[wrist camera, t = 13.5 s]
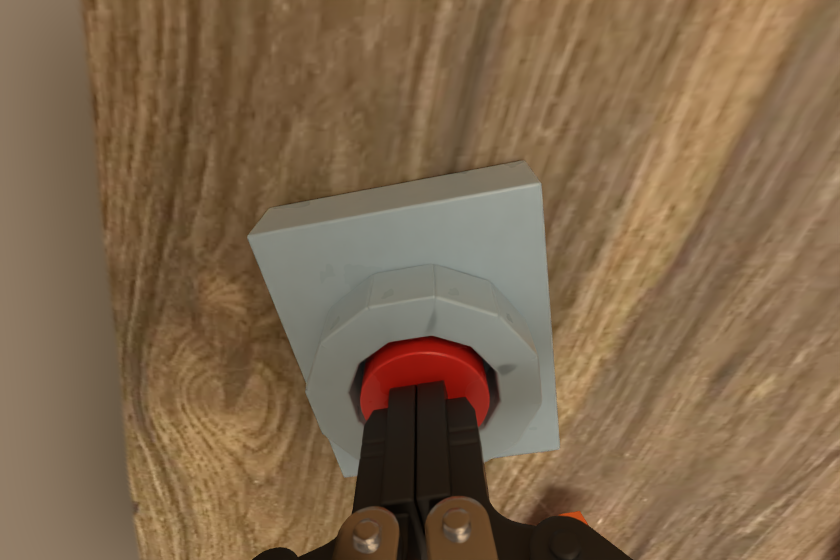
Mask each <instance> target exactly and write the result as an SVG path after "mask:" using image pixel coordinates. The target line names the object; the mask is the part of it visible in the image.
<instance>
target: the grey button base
mask: <svg viewBox="0 0 840 560" xmlns="http://www.w3.org/2000/svg"><path fill="white" fill-rule="evenodd" d="M248 241H249V243H250V246H251V248H252V251H253V253H254V256H255V258H256V260H257V263H258V265H259V268H260V270H261V273H262V275H263V278H264V280H265V283H266V285H267V288H268V290H269V293H270V295H271V298H272V300H273V303H274V305H275V308H276V310H277V313H278V315H279V318H280V320H281V323H282V325H283V327H284V330H285V332H286V335H287V337H288V340H289V342H290V345H291V347H292V350H293V352H294V355H295V357H296V360H297V362H298V365H299V367H300V370H301V372H302V375H303V377H304V380H305V382H306V390H305V393H306V395H307V398H308V400H309V402H310V405H311V407H312V410H313V412H314V415H315V417H316V420H317V422H318V424H319V427H320V429H321V432H322V434H324V435H325V436H326V437H327V438H328V439H329V442H330V444H331V447H332V449H333V452H334V454H335V456H336V459H337V461H338V464H339V466H340V469H341V471H342V474H343V476H344V477H353V476H357V474H358V467H359V460H360V452H361V445H362V438H363V430H364V425H365V423H366V422H367V421H366V420H365V418H364V415H363V413H362V410H361V406H360V393H361V387H362V380H363V374H364V368H365V361H366V358H368V357H369V356H371V355H372V354H373V353H375V352H376V351H378V350H379V349H380V348H382V347H383V346H384V345H386V344H387V343H389V342H394V341H400V340H407V339H413V338H420V337H426V336H435V337H439V338H442V339H446V340H449V341H453V342H456V343H460V344H463V345H467V346H470V347H472V348H473V349H474V350H475V351H476V352H477V353H478V354H479V355H480V356H481V357H482V358H483V361H484V366H485V372H486V377H487V383H488V388H489V394H490V404H489V409H488V412H487V415H486V417H485V419H484V421H483V422H482V424H481V425H480V426H479V427H478V429H479V434H480V440H481V445H482V451H483V458H484V463H485V462H486V461H488V460H490V459H492V458H499V457H506V456H514V455H522V454H529V453H537V452H545V451H552V450H559V449H560V439H559V425H558V411H557V397H556V382H555V368H554V354H553V340H552V326H551V311H550V297H549V283H548V269H547V255H546V240H545V226H544V212H543V198H542V184H541V182H540V181H539V179H538V178H537V177H536V175H535V174H534V172H533V171H532V170H531V168H530V167H529V165H528V164H527V163H526V161H517V162H512V163H507V164H501V165H496V166H491V167H485V168H480V169H475V170H469V171H464V172H459V173H453V174H448V175H443V176H437V177H432V178H427V179H421V180H416V181H411V182H405V183H400V184H395V185H389V186H384V187H379V188H373V189H368V190H363V191H358V192H352V193H347V194H342V195H336V196H331V197H326V198H320V199H315V200H310V201H304V202H299V203H294V204H288V205H283V206H278V207H272V208H269V209H268V210H267V211H266V213H265V214H264V215H263V216H262V218H261V219H260V220H259V222H258V223H257V224H256V225H255V227H254V228H253V229H252V231H251V232H250V233H249V234H248Z"/></svg>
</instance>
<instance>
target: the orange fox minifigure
mask: <svg viewBox="0 0 840 560" xmlns="http://www.w3.org/2000/svg"><path fill="white" fill-rule="evenodd" d="M559 516H569V517H573V518H576V519H578V520H580V521H582V522H584V523H585V524H587V522H586V521H585V519H584V517H583V516H582V514H581V513H580V511H577V512H571V513H565V514H559ZM587 525H588V524H587ZM588 526H589V525H588Z"/></svg>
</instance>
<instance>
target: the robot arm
mask: <svg viewBox="0 0 840 560" xmlns="http://www.w3.org/2000/svg"><path fill="white" fill-rule="evenodd" d="M252 560H633V559H631V558H630V557H629V556H627V555H626V554H625V553H623V552H622V551H621V550H620V549H618V548H617V547H616V546H614V545H613V544H612V543H610V542H609V541H608V540H606V539H605V538H604V537H603V536H601V535H600V534H599V533H597V532H596V531H595V530H593V529H592V528H591V527H589V526H588V525H587V524H585V523H584V522H582V521H580V520H578V519H576V518H573V517H569V516H553V517H549V518H547V519H545V520H543V521H541V522H540V523H539V524H538V525H537V526H532V525H527V524H522V523H518V522H514V521H511V520H509V519H507V518H505V517H504V516H502V515H501V514H499V513H498V512H497V511H496V510H495V509H494V508H493V506H492V505H491V503H490V500H489V493H488V486H487V479H486V472H485V465H484V458H483V451H482V445H481V440H480V434H479V429H478V423H477V418H476V412H475V409H474V408H473V406H472V405H471V404H470V402H469V401H468V400H467V398H466V397H460V398H453V399H448V395H447V391H446V386H445V382H444V380H442V381H435V382H428V383H421V384H418V386H417V385H416V384H415V385H408V386H402V387H395V388H390V390H389V400H388V408H384V409H377V410H373V412H372V413H371V415H370V417H369V418H368V420H367V422H366V423H365V425H364V430H363V438H362V445H361V452H360V460H359V467H358V474H357V482H356V489H355V496H354V504H353V510H352V514H351V516H349V517H348V518H347V519H346V521H345V522H344V523H343V525H342V526H341V528H340V530H339V532H338V535H337V537H336V538H335V539H333V540H332V541H330V542H329V543H327V544H325V545H324V546H322V547H319V548H317V549H315V550H313V551H311V552H308V553H306V554H304V555H302V556H300V557H297V555H296V554H295V553H294V552H293V551H291V550H290V549H287V548H282V547H279V548H272V549H269V550H266V551H264V552H262V553H260V554H259V555H257V556H256V557H255V558H253V559H252Z"/></svg>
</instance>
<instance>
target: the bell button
mask: <svg viewBox="0 0 840 560" xmlns="http://www.w3.org/2000/svg"><path fill="white" fill-rule="evenodd" d="M442 380H444V382H445V386H446V391H447V395H448V399H453V398H460V397H466V398H467V400H468V401H469V402H470V404H471V405H472V406H473V408H474V409H475V412H476V418H477V423H478V427H479V426H480V425H481V424H482V422H483V421H484V419H485V417H486V415H487V412H488V409H489V404H490V394H489V388H488V383H487V377H486V372H485V366H484V361H483V358H482V357H481V356H480V355H479V354H478V353H477V352H476V351H475V350H474V349H473V348H472V347H470V346H467V345H463V344H460V343H456V342H453V341H449V340H446V339H442V338H439V337H435V336H426V337H420V338H413V339H407V340H400V341H394V342H389V343H387V344H386V345H384V346H383V347H382V348H380V349H379V350H378V351H376V352H375V353H373V354H372V355H371V356H369V357H368V358H366V361H365V368H364V374H363V380H362V387H361V393H360V406H361V410H362V413H363V415H364V418H365V420H366V421H367V420H368V418H369V417H370V415H371V413H372V412H373V410H377V409H384V408H388V400H389V390H390V388H395V387H402V386H408V385H415V384H416V385H417V386H418V384H421V383H428V382H435V381H442Z"/></svg>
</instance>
